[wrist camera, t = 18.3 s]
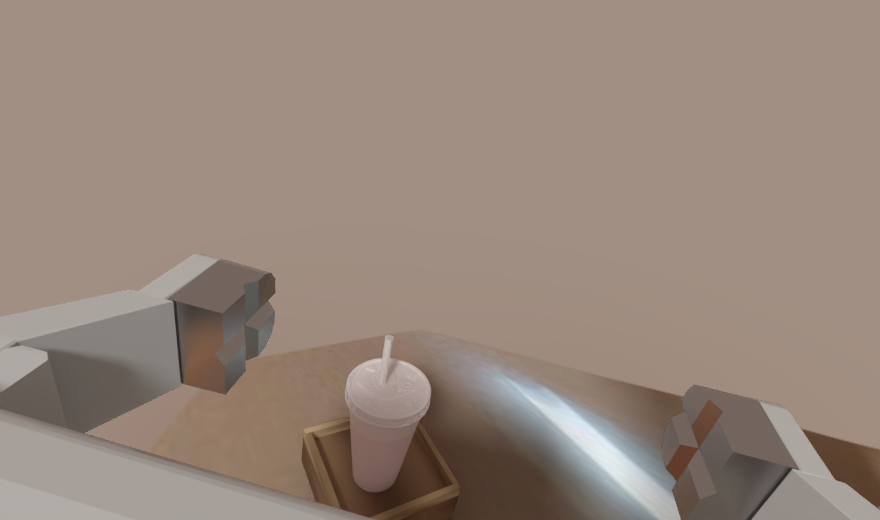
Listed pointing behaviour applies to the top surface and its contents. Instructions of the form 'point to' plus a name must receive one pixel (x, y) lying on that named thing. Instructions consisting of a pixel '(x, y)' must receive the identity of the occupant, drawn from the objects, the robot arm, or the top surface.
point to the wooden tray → (403, 504)
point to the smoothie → (383, 416)
